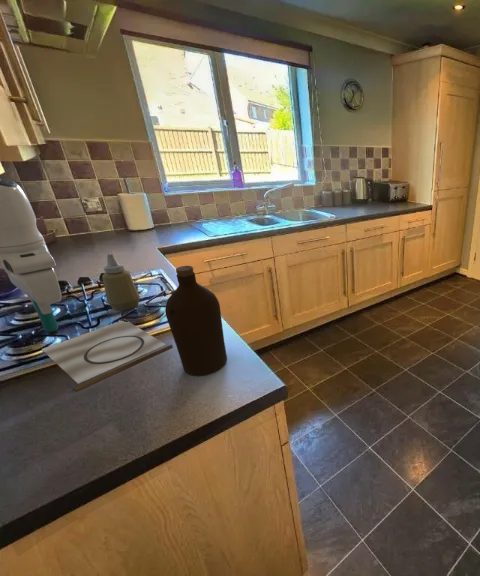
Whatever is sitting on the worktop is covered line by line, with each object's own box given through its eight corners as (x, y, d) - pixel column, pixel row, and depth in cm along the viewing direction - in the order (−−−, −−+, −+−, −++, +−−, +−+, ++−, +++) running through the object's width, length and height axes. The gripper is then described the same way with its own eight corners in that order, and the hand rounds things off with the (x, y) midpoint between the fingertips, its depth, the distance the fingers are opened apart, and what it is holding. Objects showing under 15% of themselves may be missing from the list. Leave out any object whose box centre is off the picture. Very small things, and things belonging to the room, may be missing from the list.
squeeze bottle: (136, 300, 107) (120, 248, 100) (147, 308, 103) (131, 253, 96) (106, 309, 101) (87, 254, 94) (116, 317, 97) (97, 260, 90)
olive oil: (223, 376, 76) (203, 276, 66) (173, 380, 74) (144, 278, 64) (234, 349, 85) (217, 259, 75) (190, 352, 83) (167, 260, 73)
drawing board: (36, 353, 81) (34, 349, 80) (128, 320, 96) (127, 316, 96) (75, 392, 69) (73, 387, 69) (173, 347, 85) (172, 343, 85)
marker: (45, 334, 79) (25, 288, 74) (58, 329, 81) (39, 285, 76) (49, 337, 78) (29, 291, 73) (62, 333, 80) (43, 287, 75)
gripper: (-15, 248, 74) (10, 302, 79) (15, 269, 64) (41, 329, 70) (24, 242, 79) (45, 294, 84) (57, 261, 69) (78, 318, 75)
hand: (43, 310), depth 77 cm, fingers closed on marker, 2 cm apart
